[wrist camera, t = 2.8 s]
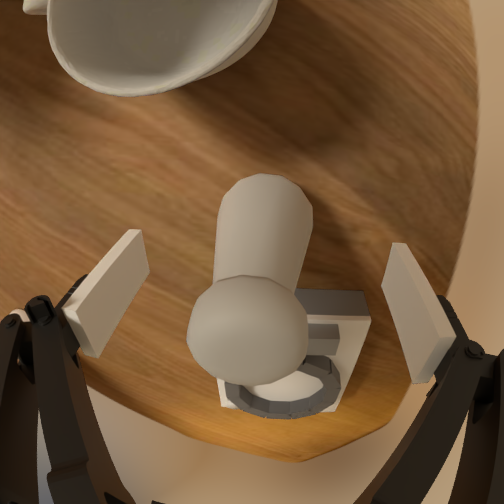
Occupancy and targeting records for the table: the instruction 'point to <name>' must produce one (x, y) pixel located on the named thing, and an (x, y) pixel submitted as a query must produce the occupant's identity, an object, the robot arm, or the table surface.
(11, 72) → the table surface
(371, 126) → the table surface
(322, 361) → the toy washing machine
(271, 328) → the bowling pin
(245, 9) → the teacup
